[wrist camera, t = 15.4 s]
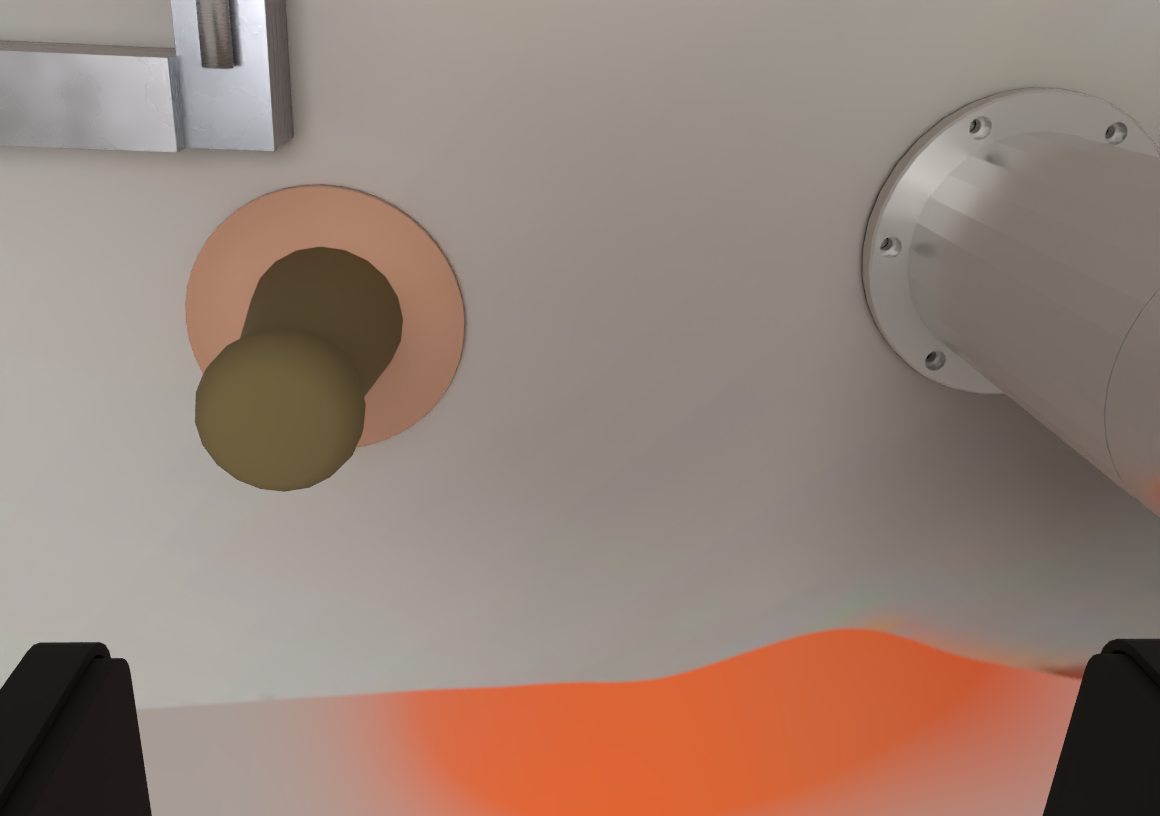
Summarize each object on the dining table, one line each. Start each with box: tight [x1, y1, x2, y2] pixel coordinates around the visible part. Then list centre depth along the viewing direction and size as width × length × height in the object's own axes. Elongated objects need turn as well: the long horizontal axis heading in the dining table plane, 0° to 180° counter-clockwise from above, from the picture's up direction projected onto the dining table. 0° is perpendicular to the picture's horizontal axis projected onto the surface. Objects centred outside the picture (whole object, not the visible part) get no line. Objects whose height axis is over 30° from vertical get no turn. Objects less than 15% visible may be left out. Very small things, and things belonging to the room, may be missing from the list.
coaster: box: [185, 185, 465, 447], centre depth 41 cm, size 11×11×1 cm
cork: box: [195, 247, 403, 491], centre depth 36 cm, size 6×6×11 cm
